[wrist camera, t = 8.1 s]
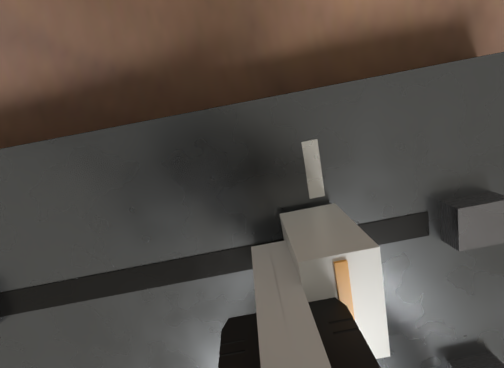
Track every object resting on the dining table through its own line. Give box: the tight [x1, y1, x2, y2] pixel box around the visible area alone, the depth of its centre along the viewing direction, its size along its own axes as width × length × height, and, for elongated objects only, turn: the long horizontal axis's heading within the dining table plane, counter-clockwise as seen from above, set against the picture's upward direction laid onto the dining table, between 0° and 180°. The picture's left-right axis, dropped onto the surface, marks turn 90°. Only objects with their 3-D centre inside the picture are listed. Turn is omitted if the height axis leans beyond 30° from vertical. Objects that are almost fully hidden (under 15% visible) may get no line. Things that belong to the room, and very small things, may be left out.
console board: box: [0, 52, 504, 368], centre depth 15 cm, size 22×30×4 cm
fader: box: [279, 203, 390, 359], centre depth 12 cm, size 4×2×5 cm, turn 11°
